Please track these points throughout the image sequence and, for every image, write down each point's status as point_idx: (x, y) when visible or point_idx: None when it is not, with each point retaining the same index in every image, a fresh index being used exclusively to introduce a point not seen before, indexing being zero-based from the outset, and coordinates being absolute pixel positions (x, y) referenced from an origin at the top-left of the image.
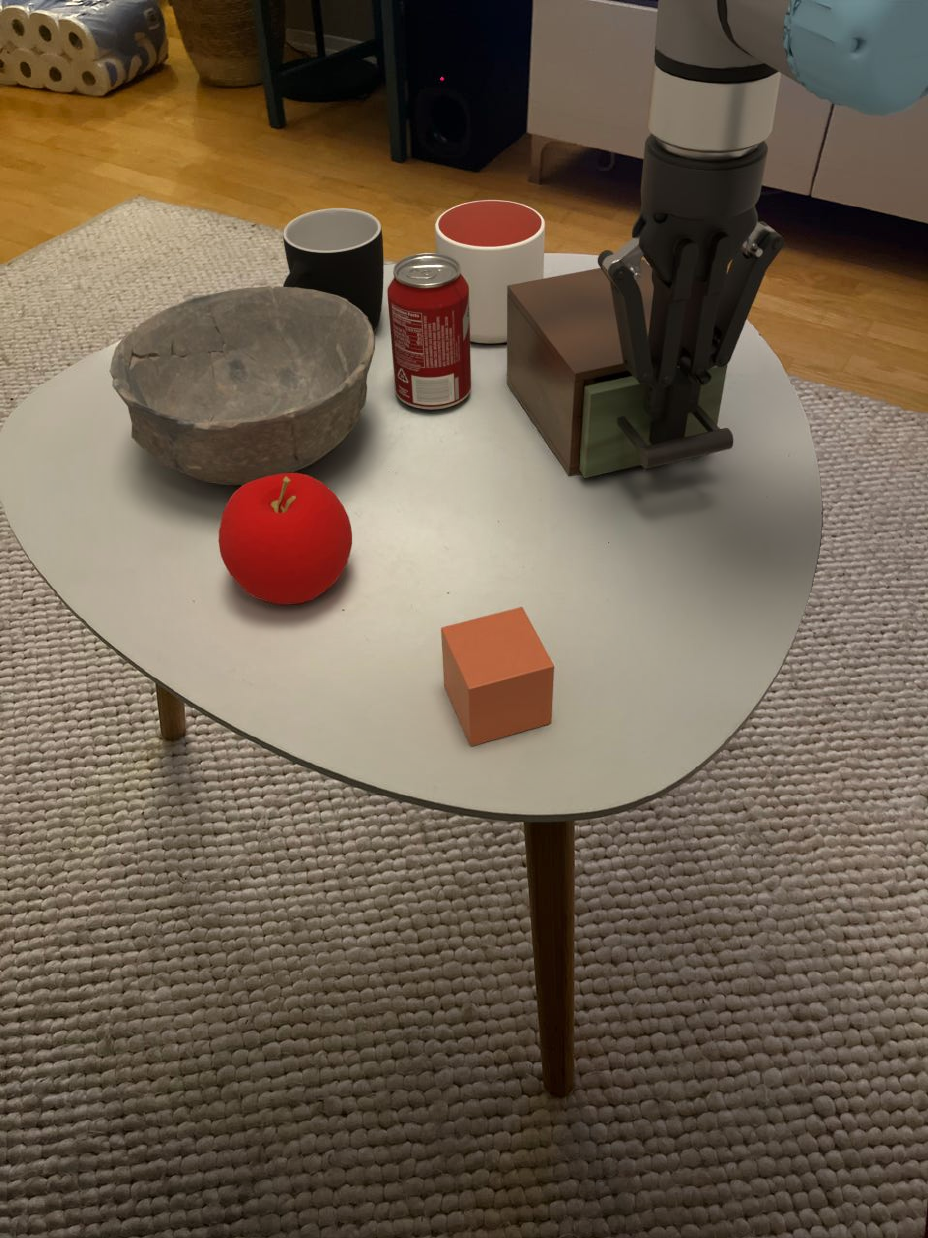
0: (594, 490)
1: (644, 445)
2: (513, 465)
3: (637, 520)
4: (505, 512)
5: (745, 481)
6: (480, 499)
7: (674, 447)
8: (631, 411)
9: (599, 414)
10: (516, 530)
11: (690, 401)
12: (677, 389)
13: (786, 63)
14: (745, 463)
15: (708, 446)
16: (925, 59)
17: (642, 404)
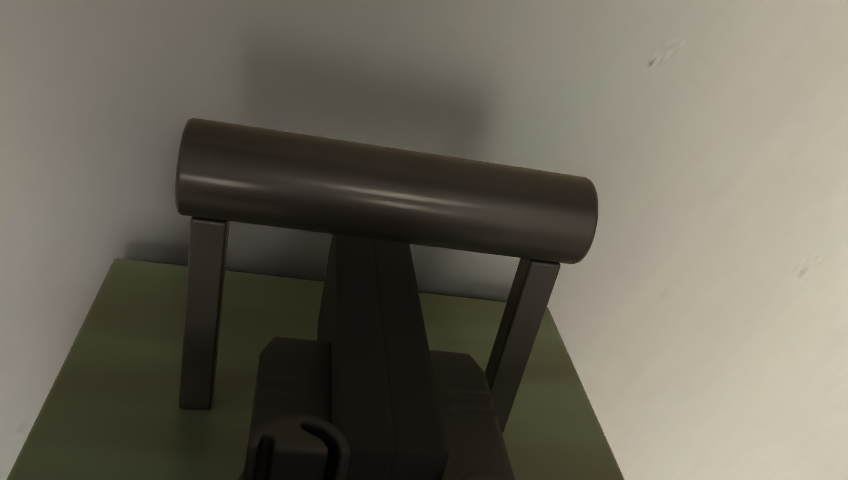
0: None
1: (539, 272)
2: (622, 420)
3: (513, 104)
4: (764, 292)
5: (81, 92)
6: (771, 354)
7: (473, 199)
8: None
9: (581, 461)
10: (796, 225)
11: (299, 380)
12: (427, 439)
13: None
14: (30, 167)
15: (316, 149)
16: None
17: None
